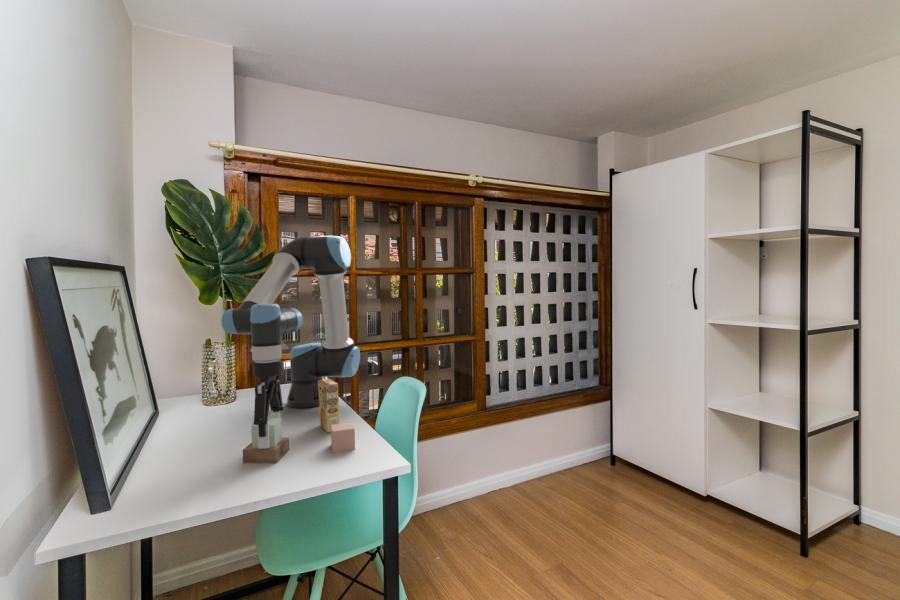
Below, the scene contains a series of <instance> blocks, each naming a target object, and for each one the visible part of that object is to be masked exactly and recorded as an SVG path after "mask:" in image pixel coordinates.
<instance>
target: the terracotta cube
mask: <svg viewBox="0 0 900 600" xmlns="http://www.w3.org/2000/svg"><path fill="white" fill-rule="evenodd" d="M355 431H356V430H355V427H354V425H353V422H352V421H351V422H343V423H339V424H334V425H331V432H330V439H331V440H330V445H331V448H332V452H333V453H337V452H338V453H339V452H344V451H351V450H356V436H355V434H356V433H355Z"/></svg>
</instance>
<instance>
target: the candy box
mask: <svg viewBox="0 0 900 600" xmlns="http://www.w3.org/2000/svg"><path fill="white" fill-rule="evenodd" d="M318 393H319V406H318V410H319V411H318V412H319V414H318V415H319V426H321V428H323V430H324V431H326V432H327V433H331V425H334V424H340V407H339V406H340V404H339V403H340V402H339V384H338V383H337V382H336V381H334V380H333V379H331V378H324V379H323V378H322V380H318Z"/></svg>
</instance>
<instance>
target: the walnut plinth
mask: <svg viewBox="0 0 900 600" xmlns="http://www.w3.org/2000/svg"><path fill="white" fill-rule="evenodd" d="M289 451H290V436H289V437H283V436H282V439H281V441H280V442H279V443H278V444H277V445H276V447H269V448H261V449H258V448H252V442H251V443H249V444H248V445H246V446H245V447H244V448H243V449H242V464H277V463H278V462H280V460H281V459H282V458H283V457H284V456H285V455H286V454H287V453H288V452H289Z"/></svg>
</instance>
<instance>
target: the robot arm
mask: <svg viewBox="0 0 900 600" xmlns="http://www.w3.org/2000/svg"><path fill="white" fill-rule="evenodd" d="M351 263H352V253H351V248H350V246H349V243H348V242H347V240H346V239H345V238H344V237H342V236H339V235H320V236H319V235H318V236H317V235H316V236H300V237H297V238H295V239H293V240H291V241H289V242H288V243H286V244H285V245H283V246H282V247H281V248H279V250H278V251H277V252H276V253H275V255H274V256H273V257H272V263H271V265H270V266H269V268H268V269H267V270H266V271H265V273H264V274H263V275H262V276H261V277H260V279H259V280H258V282H257V283H255V286H253V288H252V289H251V291H250V292H249V293H248V294H247V296H246V297H245V298H244V300H243V301H242V302H241V304H240V305H239V306H238V308H235V307H234V308H230V309H226V310H225V311H224V312H223V313H222V316H221V326H222V329H223V330H224V331H225V332H226V333H227V334H230V335H232V334H233V335H238V336H239V335H251V336H250V337H251V348H250V350H249V352H250V353H251V357H252V359H251V360H252V361H253V362H252V364H251V365H252V367H251V368H252V376H253V377H256V378H259V380H258V381H259V382H258V385H255V386H254V411H253V412H254V414H253V415H254V416H253V423H252V425H253V424H254V425H257V428H258V449H261V448H269V447H270V440H269V423H267V421H268V418H281V412H283V411H284V406H283V397H282V388H281V382H280V381H281V376H280V375H281V374H282V373H283V361H282V360H281V359H282V358H283V353H282V351H283V350H282V336H284V335H287V334H293V333H295V332H298V330H300V329H301V327H302V326H303V322H304V319H303V315H302V313H301V311H300V310H298V309H296V308H294V307H284V308H281V307H280V305H279V304H278V303H274V302H275V301H276V299H277V298H278V297H279V295H280V293H281V292H282V290H283V289H284V287H285V286H286V285H287V283H288V282H289V281H290V279H291V277H292V276H295V275H297V274H298V272H299V271H300V270H305V269H310V270H311V269H313V274H314V276H316V278H317V279H318V281H319V291H320V299H321V308H322V309H321V310H322V315H323V316H322V317H323V325H324V326H323V327H324V334H325V335H324V336H325V340H324V342H323V343H321V342H319V341H317V342H309V343H304V344H299V345H296V346H295V345H294V346H293V347H292V348H291V349H290V353H289V360H290V361H289V362H290V381H291V382H290V388H289V392H288V394H287V395H288V396H287V399H286V405H287V407H290V408H293V409H308V408H315V407H319V393H318V380H323V378H350V377H353V376H355V375H356V374H357V371H358V369H359V366H360V362H361V350H360V347H359V346H357V345H356V346H355V343H354V339H352V338H351V337H350V335H349V333H350V332H349V324H348V315H347V313H348V312H347V304H346V303H347V302H346V296H345V295H346V294H345V285H344V283H345V282H344V276H345V275H346V273H347V272H348V271H347V269H348V268H349V267H351ZM270 410H271V411H270ZM269 411H270V412H269ZM260 419H262V420H260Z"/></svg>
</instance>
